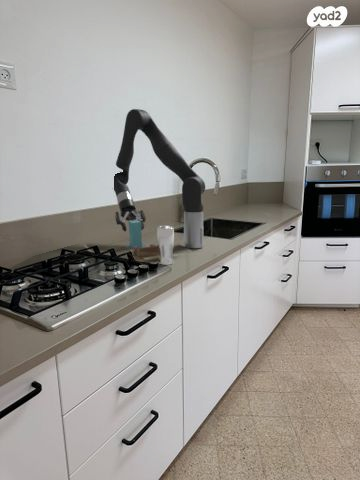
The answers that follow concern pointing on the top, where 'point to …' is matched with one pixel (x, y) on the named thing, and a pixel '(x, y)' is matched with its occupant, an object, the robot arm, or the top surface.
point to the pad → (131, 247)
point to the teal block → (135, 233)
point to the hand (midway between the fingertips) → (134, 229)
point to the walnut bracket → (146, 253)
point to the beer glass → (165, 244)
